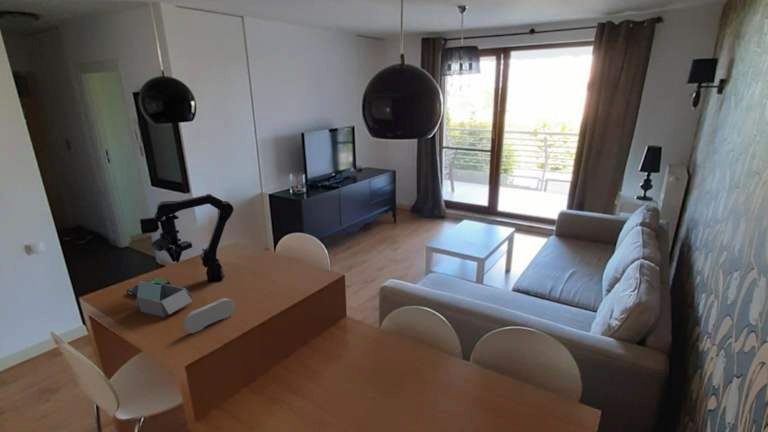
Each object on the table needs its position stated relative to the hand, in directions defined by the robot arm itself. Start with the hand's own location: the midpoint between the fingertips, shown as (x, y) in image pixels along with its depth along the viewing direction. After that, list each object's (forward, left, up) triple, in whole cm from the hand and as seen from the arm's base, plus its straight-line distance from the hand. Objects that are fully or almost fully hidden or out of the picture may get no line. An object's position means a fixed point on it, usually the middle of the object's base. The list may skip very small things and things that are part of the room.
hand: (176, 261), depth 178 cm
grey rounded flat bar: (-24, +35, -13) cm, 45 cm away
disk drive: (+15, -1, -14) cm, 20 cm away
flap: (+2, +22, -3) cm, 23 cm away
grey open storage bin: (-1, +17, -13) cm, 21 cm away
